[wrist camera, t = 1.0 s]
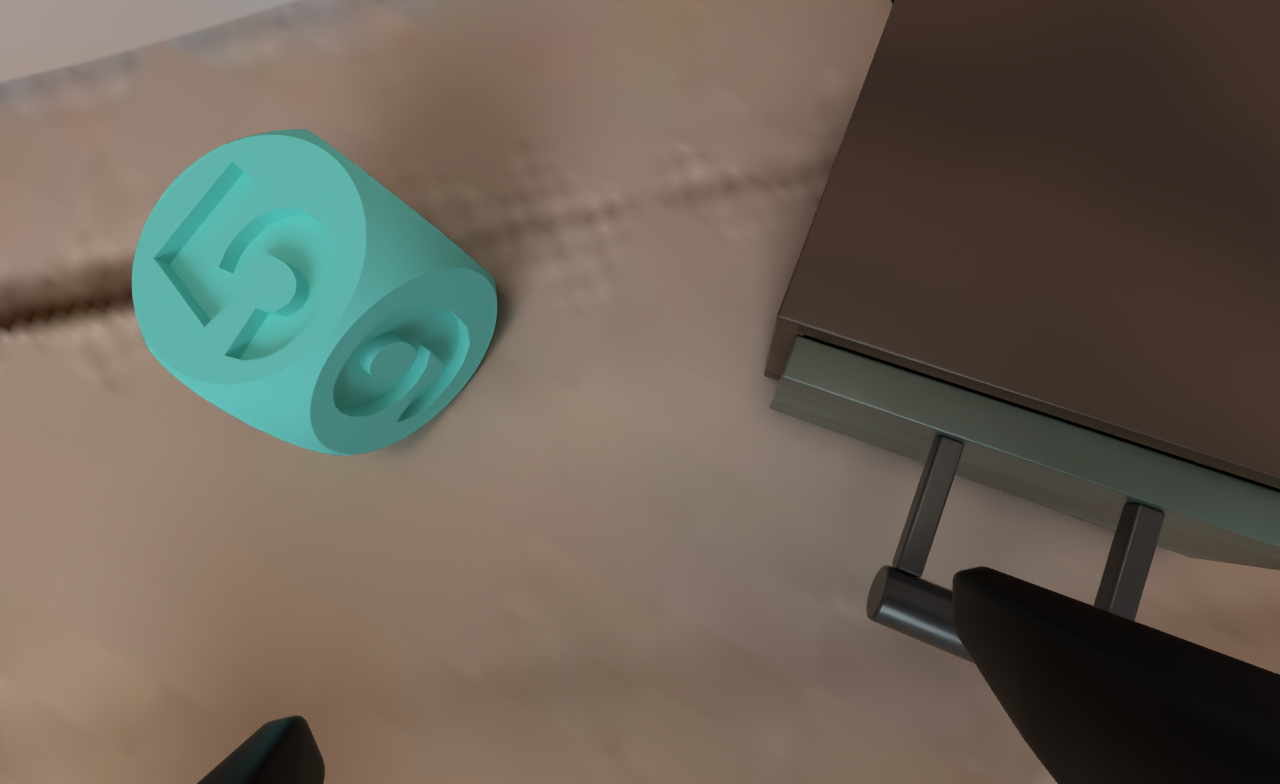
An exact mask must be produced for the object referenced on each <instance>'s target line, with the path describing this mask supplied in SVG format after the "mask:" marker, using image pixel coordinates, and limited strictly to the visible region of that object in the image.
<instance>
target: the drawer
mask: <svg viewBox="0 0 1280 784" xmlns="http://www.w3.org/2000/svg"><path fill="white" fill-rule="evenodd" d="M770 408H771V409H774V410H777V411H780V412H782V413H785V414H788V415H791V416H794V417H797V418H799V419H802V420H805V421H808V422H811V423H813V424H816V425H819V426H822V427H825V428H827V429H830V430H833V431H836V432H839V433H841V434H844V435H847V436H850V437H853V438H856V439H858V440H861V441H864V442H867V443H870V444H872V445H875V446H878V447H881V448H884V449H886V450H889V451H892V452H895V453H898V454H900V455H903V456H906V457H909V458H912V459H915V460H917V461H920V462H923V463H926V464H925V467H924V470H923V473H922V476H921V478H920V481H919V484H918V487H917V490H916V493H915V496H914V499H913V502H912V505H911V508H910V511H909V514H908V517H907V520H906V523H905V526H904V529H903V532H902V535H901V538H900V541H899V544H898V547H897V550H896V553H895V556H894V559H893V562H892V566H893V567H891V566H889V565H884V566H883V567H882V568H881V569H880V570H879V571H878V573H877V574H876V576H875V578H874V580H873V583H872V585H871V588H870V591H869V595H868V600H867V616H868V618H869V619H870V620H872V621H874V622H877V623H879V624H881V625H884V626H886V627H888V628H891V629H893V630H896V631H898V632H900V633H903V634H905V635H908V636H910V637H912V638H915V639H917V640H920V641H922V642H924V643H927V644H929V645H932V646H934V647H936V648H939V649H941V650H944V651H946V652H948V653H951V654H953V655H955V656H958V657H960V658H963V659H965V660H967V661H970V662H972V663H974V661H973V660H972V658H971V657H970V655H969V653H968V652H967V650H966V649H965V647H964V646H963V644H962V643H961V641H960V639H959V638H958V636H957V634H956V632H955V629H954V626H953V620H952V600H953V591H952V590H949V589H947V588H944V587H942V586H939V585H937V584H934V583H932V582H929V581H927V580H924V579H922V578H919V577H921V576H922V573H923V570H924V567H925V564H926V561H927V558H928V555H929V552H930V549H931V546H932V543H933V539H934V536H935V533H936V530H937V527H938V524H939V521H940V518H941V515H942V512H943V509H944V506H945V503H946V500H947V497H948V494H949V491H950V488H951V485H952V482H953V479H954V476H955V474H957V475H959V476H962V477H965V478H968V479H971V480H974V481H976V482H979V483H982V484H985V485H988V486H990V487H993V488H996V489H999V490H1002V491H1004V492H1007V493H1010V494H1013V495H1016V496H1018V497H1021V498H1024V499H1027V500H1030V501H1033V502H1035V503H1038V504H1041V505H1044V506H1047V507H1049V508H1052V509H1055V510H1058V511H1061V512H1063V513H1066V514H1069V515H1072V516H1075V517H1077V518H1080V519H1083V520H1086V521H1089V522H1092V523H1094V524H1097V525H1100V526H1103V527H1106V528H1108V529H1111V530H1114V531H1116V532H1115V536H1114V539H1113V542H1112V546H1111V549H1110V552H1109V556H1108V559H1107V563H1106V566H1105V569H1104V573H1103V576H1102V579H1101V583H1100V586H1099V589H1098V593H1097V596H1096V599H1095V603H1094V607H1097V608H1100V609H1102V610H1105V611H1108V612H1110V613H1113V614H1116V615H1119V616H1121V617H1124V618H1127V619H1129V620H1132V621H1134V620H1135V617H1136V613H1137V610H1138V606H1139V603H1140V599H1141V596H1142V592H1143V589H1144V586H1145V582H1146V579H1147V575H1148V572H1149V568H1150V565H1151V561H1152V558H1153V555H1154V551H1155V548H1156V546H1159V547H1162V548H1165V549H1167V550H1170V551H1173V552H1176V553H1179V554H1181V555H1184V556H1187V557H1190V558H1197V559H1204V560H1211V561H1219V562H1226V563H1233V564H1240V565H1247V566H1254V567H1261V568H1268V569H1275V570H1280V492H1278V491H1275V490H1272V489H1269V488H1266V487H1262V486H1259V485H1256V484H1253V483H1250V482H1247V481H1244V480H1241V479H1238V478H1235V477H1232V476H1229V475H1226V474H1223V473H1220V472H1216V471H1222V470H1220V469H1217V468H1213V467H1210V466H1207V465H1204V464H1201V463H1198V462H1195V461H1192V460H1189V459H1186V458H1183V457H1180V456H1176V455H1173V454H1170V453H1167V452H1164V451H1161V450H1158V449H1155V448H1152V447H1149V446H1146V445H1143V444H1140V443H1136V442H1133V441H1130V440H1127V439H1124V438H1121V437H1118V436H1115V435H1112V434H1109V433H1106V432H1103V431H1100V430H1096V429H1093V428H1090V427H1087V426H1084V425H1081V424H1078V423H1075V422H1072V421H1069V420H1066V419H1063V418H1060V417H1056V416H1053V415H1050V414H1047V413H1044V412H1041V411H1038V410H1035V409H1032V408H1029V407H1026V406H1023V405H1020V404H1016V403H1013V402H1010V401H1007V400H1004V399H1001V398H998V397H995V396H992V395H989V394H986V393H983V392H980V391H976V390H973V389H970V388H967V387H964V386H961V385H958V384H955V383H952V382H949V381H946V380H943V379H940V378H936V377H933V376H930V375H927V374H924V373H921V372H918V371H915V370H912V369H909V368H906V367H903V366H900V365H896V364H893V363H890V362H887V361H884V360H881V359H878V358H875V357H872V356H869V355H866V354H863V353H860V352H856V351H853V350H850V349H847V348H844V347H841V346H838V345H835V344H832V343H829V342H826V341H823V340H820V339H816V341H814V340H811V339H808V338H805V337H802V336H799V335H798V336H796V337H795V340H794V343H793V345H792V348H791V351H790V353H789V356H788V359H787V361H786V364H785V367H784V369H783V372H782V375H781V377H780V380H779V383H778V386H777V388H776V391H775V394H774V396H773V399H772V402H771V405H770Z"/></svg>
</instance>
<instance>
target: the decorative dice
mask: <svg viewBox="0 0 1280 784" xmlns="http://www.w3.org/2000/svg"><path fill="white" fill-rule="evenodd" d="M132 295H133V303H134V308H135V312H136V316H137V319H138V322H139V326H140V329H141V332H142V335H143V338H144V341H145V343H146V345H147V347H148V349H149V350H150V352H151V353H152V354H153V355H154V357H155V358H156V359H157V360H158V361H159V362H160V363H161V364H162V365H163V366H164V367H165V368H166V369H167V370H168V371H169V372H170V373H171V374H172V375H174V376H175V377H176V378H177V379H178V380H180V381H181V382H182V383H183V384H185V385H186V386H187V387H189V388H190V389H191V390H193V391H194V392H195V393H197V394H198V395H200V396H201V397H203V398H204V399H206V400H207V401H209V402H210V403H212V404H213V405H215V406H217V407H218V408H220V409H222V410H223V411H225V412H227V413H228V414H230V415H232V416H234V417H235V418H237V419H239V420H241V421H243V422H245V423H247V424H249V425H251V426H253V427H255V428H257V429H259V430H261V431H263V432H265V433H267V434H269V435H272V436H274V437H276V438H279V439H281V440H284V441H286V442H289V443H291V444H294V445H297V446H300V447H303V448H306V449H310V450H313V451H317V452H321V453H326V454H332V455H344V456H345V455H354V454H361V453H367V452H371V451H375V450H378V449H381V448H384V447H386V446H389V445H391V444H393V443H395V442H397V441H400V440H401V439H403V438H405V437H407V436H409V435H410V434H412V433H413V432H415V431H416V430H418V429H419V428H421V427H422V426H423V425H425V424H426V423H427V422H429V421H430V420H431V419H432V418H434V417H435V416H436V415H437V414H438V413H439V412H441V411H442V410H443V409H444V408H445V407H446V406H447V405H448V404H449V403H450V402H451V401H452V400H453V399H454V398H455V396H456V395H457V394H458V393H459V392H460V391H461V390H462V388H463V387H464V386H465V385H466V383H467V382H468V381H469V379H470V378H471V376H472V375H473V374H474V372H475V371H476V369H477V367H478V366H479V364H480V362H481V361H482V359H483V357H484V355H485V353H486V351H487V349H488V346H489V344H490V341H491V339H492V336H493V333H494V329H495V325H496V319H497V294H496V283H495V279H494V277H493V276H492V275H491V274H490V273H489V272H487V271H486V270H485V269H484V268H483V267H482V266H481V265H480V264H478V263H477V262H476V261H475V260H474V259H473V258H471V257H470V256H469V255H468V254H467V253H466V252H464V251H463V250H462V249H461V248H460V247H458V246H457V245H456V244H455V243H454V242H452V241H451V240H450V239H449V238H448V237H446V236H445V235H444V234H443V233H441V232H440V231H439V230H438V229H437V228H435V227H434V226H433V225H432V224H430V223H429V222H428V221H427V220H425V219H424V218H423V217H422V216H421V215H419V214H418V213H417V212H416V211H414V210H413V209H412V208H411V207H409V206H408V205H407V204H406V203H404V202H403V201H402V200H401V199H399V198H398V197H397V196H395V195H394V194H393V193H392V192H390V191H389V190H388V189H387V188H385V187H384V186H383V185H381V184H380V183H379V182H378V181H376V180H375V179H374V178H372V177H371V176H370V175H369V174H367V173H366V172H365V171H363V170H362V169H361V168H360V167H358V166H357V165H356V164H354V163H353V162H352V161H350V160H349V159H348V158H346V157H345V156H344V155H342V154H341V153H340V152H338V151H337V150H336V149H334V148H333V147H332V146H330V145H329V144H328V143H326V142H325V141H323V140H322V139H321V138H319V137H318V136H316V135H315V134H313V133H312V132H310V131H309V130H307V129H291V130H279V131H272V132H266V133H261V134H256V135H252V136H248V137H245V138H241V139H238V140H236V141H233V142H230V143H228V144H225V145H223V146H221V147H219V148H217V149H215V150H213V151H211V152H209V153H208V154H206V155H205V156H203V157H201V158H200V159H198V160H197V161H196V162H194V163H193V164H192V165H191V166H189V167H188V168H187V169H186V170H185V171H184V172H183V173H181V174H180V175H179V176H178V177H177V178H176V179H175V180H174V182H173V183H172V184H171V185H170V186H169V187H168V188H167V190H166V191H165V192H164V194H163V195H162V196H161V198H160V199H159V200H158V202H157V204H156V205H155V207H154V208H153V210H152V212H151V214H150V216H149V218H148V220H147V221H146V224H145V226H144V228H143V231H142V233H141V236H140V239H139V242H138V245H137V249H136V253H135V258H134V264H133V272H132Z"/></svg>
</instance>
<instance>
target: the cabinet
mask: <svg viewBox="0 0 1280 784" xmlns="http://www.w3.org/2000/svg"><path fill="white" fill-rule="evenodd" d="M798 335H799V336H802V337H805V338H808V339H811V340H814V341H816V339H820V340H823V341H826V342H829V343H832V344H835V345H838V346H841V347H844V348H847V349H850V350H853V351H856V352H860V353H863V354H866V355H869V356H872V357H875V358H878V359H881V360H884V361H887V362H890V363H893V364H896V365H900V366H903V367H906V368H909V369H912V370H915V371H918V372H921V373H924V374H927V375H930V376H933V377H936V378H940V379H943V380H946V381H949V382H952V383H955V384H958V385H961V386H964V387H967V388H970V389H973V390H976V391H980V392H983V393H986V394H989V395H992V396H995V397H998V398H1001V399H1004V400H1007V401H1010V402H1013V403H1016V404H1020V405H1023V406H1026V407H1029V408H1032V409H1035V410H1038V411H1041V412H1044V413H1047V414H1050V415H1053V416H1056V417H1060V418H1063V419H1066V420H1069V421H1072V422H1075V423H1078V424H1081V425H1084V426H1087V427H1090V428H1093V429H1096V430H1100V431H1103V432H1106V433H1109V434H1112V435H1115V436H1118V437H1121V438H1124V439H1127V440H1130V441H1133V442H1136V443H1140V444H1143V445H1146V446H1149V447H1152V448H1155V449H1158V450H1161V451H1164V452H1167V453H1170V454H1173V455H1176V456H1180V457H1183V458H1186V459H1189V460H1192V461H1195V462H1198V463H1201V464H1204V465H1207V466H1210V467H1213V468H1217V469H1220V470H1222V471H1216V472H1220V473H1223V474H1226V475H1229V476H1232V477H1235V478H1238V479H1241V480H1244V481H1247V482H1250V483H1253V484H1256V485H1259V486H1262V487H1266V488H1269V489H1272V490H1275V491H1278V492H1280V0H895V1H894V3H893V6H892V9H891V11H890V14H889V17H888V19H887V22H886V25H885V28H884V30H883V33H882V36H881V38H880V41H879V44H878V46H877V49H876V52H875V54H874V57H873V60H872V62H871V65H870V68H869V71H868V73H867V76H866V79H865V81H864V84H863V87H862V89H861V92H860V95H859V97H858V100H857V103H856V105H855V108H854V111H853V114H852V116H851V119H850V122H849V124H848V127H847V130H846V132H845V135H844V138H843V140H842V143H841V146H840V148H839V151H838V154H837V157H836V159H835V162H834V165H833V167H832V170H831V173H830V175H829V178H828V181H827V183H826V186H825V189H824V191H823V194H822V197H821V200H820V202H819V205H818V208H817V210H816V213H815V216H814V218H813V221H812V224H811V226H810V229H809V232H808V234H807V237H806V240H805V243H804V245H803V248H802V251H801V253H800V256H799V259H798V261H797V264H796V267H795V269H794V272H793V275H792V277H791V280H790V283H789V286H788V288H787V291H786V294H785V296H784V299H783V302H782V304H781V307H780V310H779V312H778V315H777V319H776V324H775V328H774V333H773V337H772V342H771V346H770V350H769V355H768V359H767V364H766V368H765V373H764V375H765V376H766V377H769V378H772V379H775V380H778V381H779V380H780V377H781V375H782V372H783V369H784V367H785V364H786V361H787V359H788V356H789V353H790V351H791V348H792V345H793V343H794V340H795V337H796V336H798Z"/></svg>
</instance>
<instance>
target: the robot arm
mask: <svg viewBox="0 0 1280 784" xmlns="http://www.w3.org/2000/svg"><path fill="white" fill-rule="evenodd" d="M952 620H953V626H954V629H955V632H956V634H957V636H958V638H959V639H960V641H961V643H962V644H963V646H964V647H965V649H966V650H967V652H968V653H969V655H970V657H971V658H972V660H973V661H974V663H975V664H976V666H977V668H978V669H979V671H980V672H981V674H982V675H983V677H984V678H985V680H986V682H987V683H988V685H989V686H990V688H991V689H992V691H993V692H994V694H995V696H996V697H997V699H998V700H999V702H1000V703H1001V705H1002V706H1003V708H1004V710H1005V711H1006V713H1007V714H1008V716H1009V717H1010V719H1011V720H1012V722H1013V724H1014V725H1015V727H1016V728H1017V729H1018V731H1019V732H1020V734H1021V735H1022V737H1023V738H1024V740H1025V741H1026V743H1027V744H1028V745H1029V747H1030V748H1031V749H1032V751H1033V752H1034V753H1035V755H1036V756H1037V757H1038V759H1039V760H1040V761H1041V763H1042V764H1043V765H1044V766H1045V768H1046V769H1047V770H1048V772H1049V773H1050V774H1051V775H1052V777H1053V778H1054V779H1055V781H1056V782H1057V783H1058V784H1280V675H1279V674H1276V673H1273V672H1271V671H1268V670H1265V669H1263V668H1260V667H1257V666H1254V665H1252V664H1249V663H1246V662H1244V661H1241V660H1238V659H1235V658H1233V657H1230V656H1227V655H1225V654H1222V653H1219V652H1216V651H1214V650H1211V649H1208V648H1205V647H1203V646H1200V645H1197V644H1195V643H1192V642H1189V641H1186V640H1184V639H1181V638H1178V637H1176V636H1173V635H1170V634H1167V633H1165V632H1162V631H1159V630H1157V629H1154V628H1151V627H1148V626H1146V625H1143V624H1140V623H1138V622H1135V621H1132V620H1129V619H1127V618H1124V617H1121V616H1119V615H1116V614H1113V613H1110V612H1108V611H1105V610H1102V609H1100V608H1097V607H1094V606H1091V605H1089V604H1086V603H1083V602H1081V601H1078V600H1075V599H1072V598H1070V597H1067V596H1064V595H1062V594H1059V593H1056V592H1053V591H1051V590H1048V589H1045V588H1043V587H1040V586H1037V585H1034V584H1032V583H1029V582H1026V581H1024V580H1021V579H1018V578H1015V577H1013V576H1010V575H1007V574H1005V573H1002V572H999V571H996V570H994V569H991V568H988V567H976V568H971V569H967V570H962V571H959V572H957V573H956V574H955V575H954V578H953V600H952ZM324 777H325V767H324V761H323V758H322V756H321V753H320V751H319V749H318V746H317V744H316V742H315V739H314V737H313V735H312V732H311V730H310V728H309V725H308V723H307V721H306V720H305V719H304V718H303V717H301V716H291V717H287V718H282V719H277V720H273V721H270V722H268V723H266V724H264V725H263V726H262V727H261V728H259V729H258V730H257V731H256V732H255V733H254V734H253V735H252V736H250V737H249V738H248V739H247V740H246V741H245V742H244V743H242V744H241V745H240V746H239V747H238V748H237V749H236V750H235V751H233V752H232V753H231V754H230V755H229V756H228V757H227V758H225V759H224V760H223V761H222V762H221V763H220V764H219V765H218V766H216V767H215V768H214V769H213V770H212V771H211V772H210V773H208V774H207V775H206V776H205V777H204V778H203V779H202V780H201V781H199V782H198V783H197V784H324Z"/></svg>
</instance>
